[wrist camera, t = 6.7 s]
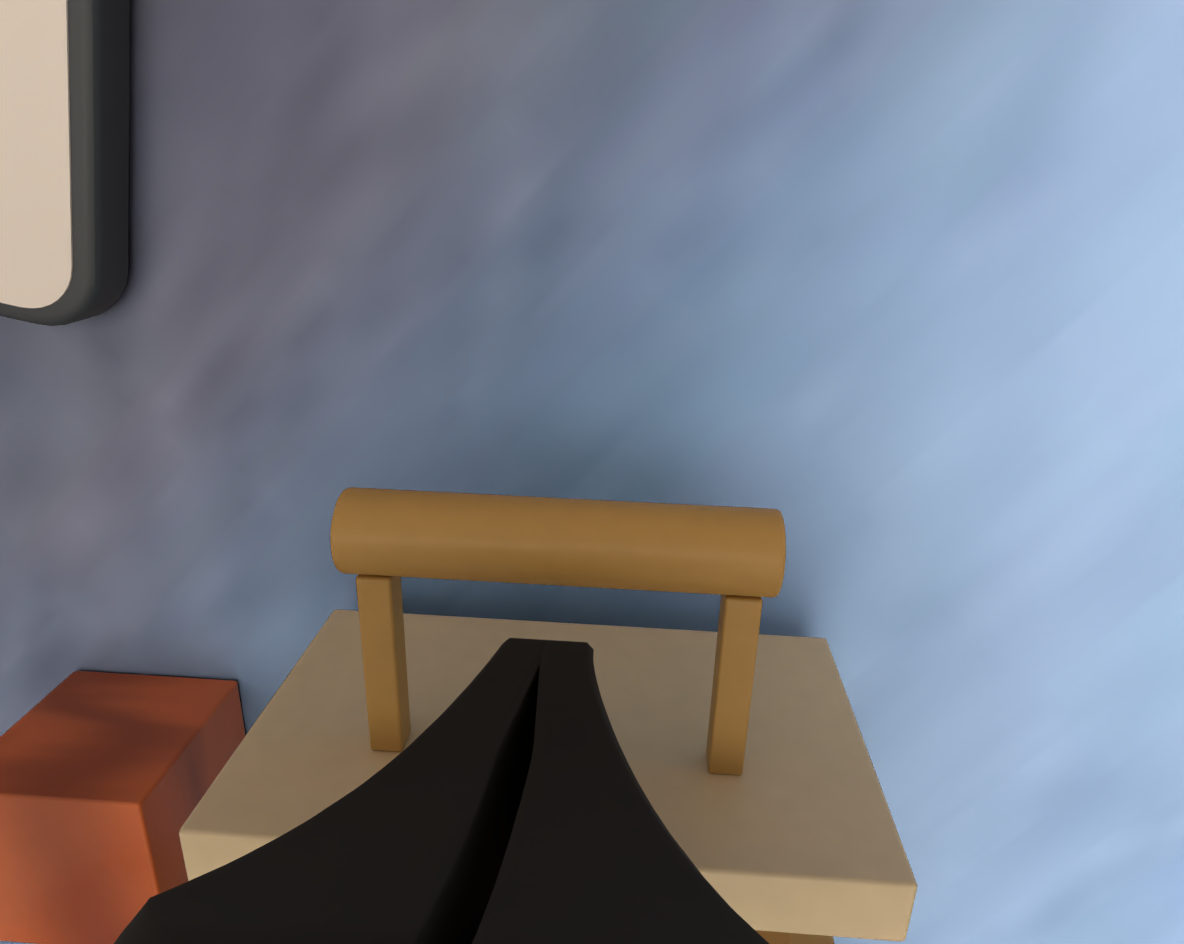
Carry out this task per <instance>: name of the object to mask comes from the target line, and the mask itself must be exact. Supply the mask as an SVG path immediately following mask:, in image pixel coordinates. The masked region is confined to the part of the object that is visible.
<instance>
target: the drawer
mask: <svg viewBox="0 0 1184 944" xmlns="http://www.w3.org/2000/svg"><path fill="white" fill-rule="evenodd" d="M330 542H331V553H332V558H333V562H334V564H335V566H336V568H337V569H338V570H339V571H340V572H342V573H345V574H358V576H357V578H356V587H357V598H358V609H359V611H354V610H334V611H333V612H332V613H331V615H330V616H329V618H328V619H327V621H326V622H325V623H324V625H323V626H322V628H321V629H320V631H319V632H318V633H317V635H316V636H315V638H314V639H313V641H312V642H311V643H310V645H309V646H308V648H307V649H306V650H305V652H304V653H303V655H302V656H301V658H300V659H299V660H298V662H297V663H296V665H295V666H294V668H293V669H292V670H291V672H290V673H289V675H288V676H287V678H286V679H285V680H284V682H283V683H282V685H281V686H280V688H279V689H278V690H277V692H276V693H275V695H274V696H273V697H272V699H271V700H270V702H269V703H268V705H267V706H266V707H265V709H264V710H263V712H262V713H261V715H260V716H259V717H258V719H257V720H256V722H255V723H254V725H253V726H252V727H251V729H250V730H249V732H248V733H247V735H246V736H245V737H244V739H243V740H242V742H241V743H240V744H239V746H238V747H237V749H236V750H235V752H234V753H233V754H232V756H231V757H230V759H229V760H228V762H227V763H226V764H225V766H224V767H223V769H222V770H221V772H220V773H219V774H218V776H217V777H216V779H215V780H214V782H213V783H212V784H211V786H210V787H209V789H208V790H207V792H206V793H205V794H204V796H203V797H202V799H201V800H200V801H199V803H198V804H197V806H196V807H195V809H194V810H193V811H192V813H191V814H190V816H189V817H188V819H187V820H186V821H185V823H184V824H183V826H182V827H181V829H180V832H179V837H180V842H181V847H182V852H183V857H184V862H185V867H186V872H187V877H188V881H190V880H192V879H194V878H197V877H199V876H201V875H203V874H206V873H208V872H210V871H212V870H215V869H217V868H219V867H221V866H224V865H226V864H228V863H230V862H232V861H234V860H236V859H238V858H240V857H242V856H244V855H246V854H248V853H250V852H252V851H254V850H255V849H257V848H259V847H261V846H263V845H265V844H267V843H269V842H271V841H272V840H274V839H276V838H278V837H280V836H281V835H283V834H285V833H287V832H288V831H290V830H292V829H294V828H295V827H297V826H299V825H301V824H302V823H304V822H306V821H307V820H309V819H311V818H312V817H314V816H315V815H317V814H318V813H320V812H321V811H323V810H324V809H326V808H327V807H329V806H330V805H332V804H333V803H335V802H336V801H338V800H339V799H341V798H342V797H344V796H345V795H347V794H349V793H350V792H352V791H353V790H355V789H356V788H357V787H359V786H360V785H361V784H363V783H364V782H365V781H367V780H368V779H369V778H371V777H372V776H373V775H374V774H376V773H377V772H378V771H379V770H381V769H382V768H383V767H384V766H386V765H387V764H388V763H389V762H391V761H392V760H393V759H394V758H395V757H396V756H398V755H399V754H400V753H401V752H402V751H403V750H404V749H406V748H407V747H408V746H409V745H410V744H411V743H412V742H413V741H414V740H415V739H416V738H417V737H418V736H419V735H421V734H422V733H423V732H424V731H425V730H426V729H427V728H428V727H429V726H430V725H431V724H432V723H433V722H434V721H435V720H436V719H437V718H438V717H439V716H440V715H441V714H442V713H443V712H444V711H445V710H446V709H447V708H448V707H449V706H450V705H451V704H452V703H453V702H454V700H455V699H456V698H457V697H458V696H459V695H460V694H461V693H462V692H463V691H464V690H465V689H466V687H467V686H468V685H469V684H470V683H471V682H472V681H473V679H474V678H475V677H476V676H477V675H478V674H479V672H480V671H481V670H482V669H483V668H484V666H485V665H486V664H487V663H488V662H489V660H490V659H491V658H492V657H493V655H494V654H495V653H496V651H497V650H498V649H499V648H500V646H501V645H502V644H503V643H504V642H505V641H506V640H508V639H509V638H523V639H540V640H557V641H574V642H587V643H588V644H589V645H590V646H591V647H592V648H593V649H594V655H593V662H594V669H595V674H596V679H597V683H598V687H599V691H600V694H601V697H602V701H603V704H604V707H605V709H606V712H607V715H608V717H609V720H610V723H611V725H612V728H613V731H614V733H615V735H616V738H617V740H618V742H619V745H620V747H621V749H622V751H623V753H624V755H625V757H626V760H627V762H628V764H629V766H630V768H631V770H632V772H633V773H634V775H635V777H636V779H637V781H638V783H639V785H640V786H641V788H642V790H643V792H644V793H645V795H646V797H647V798H648V800H649V802H650V803H651V805H652V807H653V808H654V810H655V811H656V813H657V814H658V816H659V817H660V819H661V820H662V822H663V823H664V825H665V826H666V828H667V830H668V831H669V832H670V834H671V835H672V836H673V838H674V839H675V840H676V842H677V843H678V844H679V846H680V847H681V848H682V849H683V851H684V852H685V853H686V855H687V856H688V857H689V858H690V860H691V861H692V862H693V864H694V865H695V866H696V867H697V869H698V870H699V871H700V873H701V874H702V875H703V877H704V878H705V879H706V880H707V881H708V882H709V883H710V884H711V886H712V887H713V888H714V889H715V890H716V891H717V892H718V893H719V894H720V896H721V897H722V898H723V899H724V900H725V901H726V902H727V903H728V905H729V906H730V907H731V908H732V909H733V910H734V911H735V912H736V913H737V914H738V915H739V916H740V917H742V918H743V919H744V920H745V921H746V922H747V923H748V924H749V925H750V926H751V927H752V928H753V929H754V930H755V931H756V932H757V933H758V934H760V935H761V936H762V937H763V938H764V939H765V940H766V941H767V942H768V943H769V944H834V940H833V936H836V937H849V938H862V939H875V940H888V941H904V940H905V939H906V934H907V930H908V926H909V921H910V917H911V913H912V908H913V904H914V899H915V895H916V891H917V883H916V880H915V878H914V875H913V872H912V870H911V867H910V864H909V861H908V859H907V856H906V853H905V851H904V848H903V845H902V843H901V840H900V837H899V834H898V832H897V829H896V826H895V824H894V821H893V818H892V816H891V813H890V810H889V807H888V805H887V802H886V799H885V797H884V794H883V791H882V789H881V786H880V783H879V780H878V778H877V775H876V772H875V770H874V767H873V764H872V762H871V759H870V756H869V753H868V751H867V748H866V745H865V743H864V740H863V737H862V735H861V732H860V729H859V726H858V724H857V721H856V718H855V716H854V713H853V710H852V708H851V705H850V702H849V699H848V697H847V694H846V691H845V689H844V686H843V683H842V681H841V678H840V675H839V672H838V670H837V667H836V664H835V662H834V659H833V656H832V654H831V651H830V648H829V645H828V643H827V640H826V639H824V638H815V637H798V636H781V635H764V634H759V629H760V620H761V612H762V603H763V601H762V598H761V597H772V598H773V597H776V596H778V594H779V592H780V590H781V587H782V583H783V578H784V571H785V559H786V534H785V525H784V520H783V516H782V514H781V512H780V511H779V510H777V509H768V508H748V507H728V506H709V505H689V504H669V503H649V502H630V501H610V500H590V499H570V498H551V497H531V496H511V495H491V494H472V493H452V492H432V491H413V490H393V489H373V488H353V487H351V488H347V489H345V490H344V491H343V492H342V493H341V495H340V496H339V498H338V500H337V503H336V505H335V509H334V513H333V517H332V523H331V535H330ZM401 577H416V578H434V579H452V580H470V581H488V582H505V583H523V584H541V585H559V586H577V587H594V588H612V589H630V590H648V591H665V592H683V593H701V594H719V595H721V602H720V612H719V623H718V632H713V631H696V630H679V629H662V628H644V627H627V626H610V625H593V624H576V623H559V622H542V621H525V620H508V619H491V618H474V617H457V616H440V615H423V614H406V613H403V603H402V588H401Z"/></svg>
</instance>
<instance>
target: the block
mask: <svg viewBox="0 0 1184 944" xmlns="http://www.w3.org/2000/svg"><path fill="white" fill-rule="evenodd" d="M245 736H246V735H245V729H244V722H243V716H242V709H241V703H240V696H239V690H238V683H237V681H232V680H216V679H200V678H185V677H169V676H153V675H138V674H122V673H106V672H90V671H75V672H73V673H72V674H71V675H69V676H68V677H67V678H66V679H65V680H64V681H63V682H62V683H60V684H59V685H58V686H57V687H56V688H55V689H54V690H53V691H51V692H50V693H49V694H48V695H47V696H46V697H45V698H44V699H42V700H41V701H40V702H39V703H38V704H37V705H36V706H35V707H33V708H32V709H31V710H30V711H29V712H28V713H27V714H26V715H24V716H23V717H22V718H21V719H20V720H19V721H18V722H16V723H15V724H14V725H13V726H12V727H11V728H10V729H9V730H7V731H6V732H5V733H4V734H3V735H2V736H1V737H0V941H10V942H22V943H35V944H114V943H115V941H116V940H117V938H118V937H119V936H120V934H121V933H122V932H123V930H124V929H125V928H126V927H127V925H128V924H129V923H130V922H131V921H132V919H133V918H134V917H135V916H136V914H137V913H138V912H139V911H140V910H141V908H142V907H143V906H144V904H145V903H146V902H147V900H148V899H149V898H150V897H153V896H155V895H158V894H160V893H162V892H165V891H167V890H170V889H172V888H174V887H176V886H179V885H181V884H183V883H185V882H188V877H187V872H186V867H185V862H184V857H183V852H182V847H181V842H180V837H179V832H180V829H181V827H182V826H183V824H184V823H185V821H186V820H187V819H188V817H189V816H190V814H191V813H192V811H193V810H194V809H195V807H196V806H197V804H198V803H199V801H200V800H201V799H202V797H203V796H204V794H205V793H206V792H207V790H208V789H209V787H210V786H211V784H212V783H213V782H214V780H215V779H216V777H217V776H218V774H219V773H220V772H221V770H222V769H223V767H224V766H225V764H226V763H227V762H228V760H229V759H230V757H231V756H232V754H233V753H234V752H235V750H236V749H237V747H238V746H239V744H240V743H241V742H242V740H243V739H244V737H245Z"/></svg>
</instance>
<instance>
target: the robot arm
mask: <svg viewBox="0 0 1184 944" xmlns="http://www.w3.org/2000/svg"><path fill="white" fill-rule="evenodd" d="M593 655H594V649H593V648H592V647H591V646H590V645H589V644H588V643H587V642H574V641H557V640H540V639H523V638H509V639H508V640H506V641H505V642H504V643H503V644H502V645H501V646H500V648H499V649H498V650H497V651H496V653H495V654H494V655H493V657H492V658H491V659H490V660H489V662H488V663H487V664H486V665H485V666H484V668H483V669H482V670H481V671H480V672H479V674H478V675H477V676H476V677H475V678H474V679H473V681H472V682H471V683H470V684H469V685H468V686H467V687H466V689H465V690H464V691H463V692H462V693H461V694H460V695H459V696H458V697H457V698H456V699H455V700H454V702H453V703H452V704H451V705H450V706H449V707H448V708H447V709H446V710H445V711H444V712H443V713H442V714H441V715H440V716H439V717H438V718H437V719H436V720H435V721H434V722H433V723H432V724H431V725H430V726H429V727H428V728H427V729H426V730H425V731H424V732H423V733H422V734H421V735H419V736H418V737H417V738H416V739H415V740H414V741H413V742H412V743H411V744H410V745H409V746H408V747H407V748H406V749H404V750H403V751H402V752H401V753H400V754H399V755H398V756H396V757H395V758H394V759H393V760H392V761H391V762H389V763H388V764H387V765H386V766H384V767H383V768H382V769H381V770H379V771H378V772H377V773H376V774H374V775H373V776H372V777H371V778H369V779H368V780H367V781H365V782H364V783H363V784H361V785H360V786H359V787H357V788H356V789H355V790H353V791H352V792H350V793H349V794H347V795H345V796H344V797H342V798H341V799H339V800H338V801H336V802H335V803H333V804H332V805H330V806H329V807H327V808H326V809H324V810H323V811H321V812H320V813H318V814H317V815H315V816H314V817H312V818H311V819H309V820H307V821H306V822H304V823H302V824H301V825H299V826H297V827H295V828H294V829H292V830H290V831H288V832H287V833H285V834H283V835H281V836H280V837H278V838H276V839H274V840H272V841H271V842H269V843H267V844H265V845H263V846H261V847H259V848H257V849H255V850H254V851H252V852H250V853H248V854H246V855H244V856H242V857H240V858H238V859H236V860H234V861H232V862H230V863H228V864H226V865H224V866H221V867H219V868H217V869H215V870H212V871H210V872H208V873H206V874H203V875H201V876H199V877H197V878H194V879H192V880H190V881H188V882H185V883H183V884H181V885H179V886H176V887H174V888H172V889H170V890H167V891H165V892H162V893H160V894H158V895H155V896H153V897H150V898H149V899H148V900H147V902H146V903H145V904H144V906H143V907H142V908H141V910H140V911H139V912H138V913H137V914H136V916H135V917H134V918H133V919H132V921H131V922H130V923H129V924H128V925H127V927H126V928H125V929H124V930H123V932H122V933H121V934H120V936H119V937H118V938H117V940H116V941H115V943H114V944H769V943H768V942H767V941H766V940H765V939H764V938H763V937H762V936H761V935H760V934H758V933H757V932H756V931H755V930H754V929H753V928H752V927H751V926H750V925H749V924H748V923H747V922H746V921H745V920H744V919H743V918H742V917H740V916H739V915H738V914H737V913H736V912H735V911H734V910H733V909H732V908H731V907H730V906H729V905H728V903H727V902H726V901H725V900H724V899H723V898H722V897H721V896H720V894H719V893H718V892H717V891H716V890H715V889H714V888H713V887H712V886H711V884H710V883H709V882H708V881H707V880H706V879H705V878H704V877H703V875H702V874H701V873H700V871H699V870H698V869H697V867H696V866H695V865H694V864H693V862H692V861H691V860H690V858H689V857H688V856H687V855H686V853H685V852H684V851H683V849H682V848H681V847H680V846H679V844H678V843H677V842H676V840H675V839H674V838H673V836H672V835H671V834H670V832H669V831H668V830H667V828H666V826H665V825H664V823H663V822H662V820H661V819H660V817H659V816H658V814H657V813H656V811H655V810H654V808H653V807H652V805H651V803H650V802H649V800H648V798H647V797H646V795H645V793H644V792H643V790H642V788H641V786H640V785H639V783H638V781H637V779H636V777H635V775H634V773H633V772H632V770H631V768H630V766H629V764H628V762H627V760H626V757H625V755H624V753H623V751H622V749H621V747H620V745H619V742H618V740H617V738H616V735H615V733H614V731H613V728H612V725H611V723H610V720H609V717H608V715H607V712H606V709H605V707H604V704H603V701H602V697H601V694H600V691H599V687H598V683H597V679H596V674H595V669H594V662H593Z"/></svg>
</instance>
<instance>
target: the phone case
mask: <svg viewBox="0 0 1184 944" xmlns="http://www.w3.org/2000/svg"><path fill="white" fill-rule="evenodd" d="M129 32H130V0H0V316H4V317H8V318H13V319H17V320H22V321H26V322H31V323H35V324H42V325H50V326H54V325H66V324H69V323H72V322H76V321H79V320H82V319H86V318H89V317H92V316H96V315H99V314H101V313H102V312H104V311H106V310H108V309H109V308H110V307H111V306H112V305H113V304H114V303H116V302H117V301H118V299H119V298H120V296H121V294H122V293H123V291H124V288H125V285H126V282H127V276H128V225H129Z"/></svg>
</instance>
